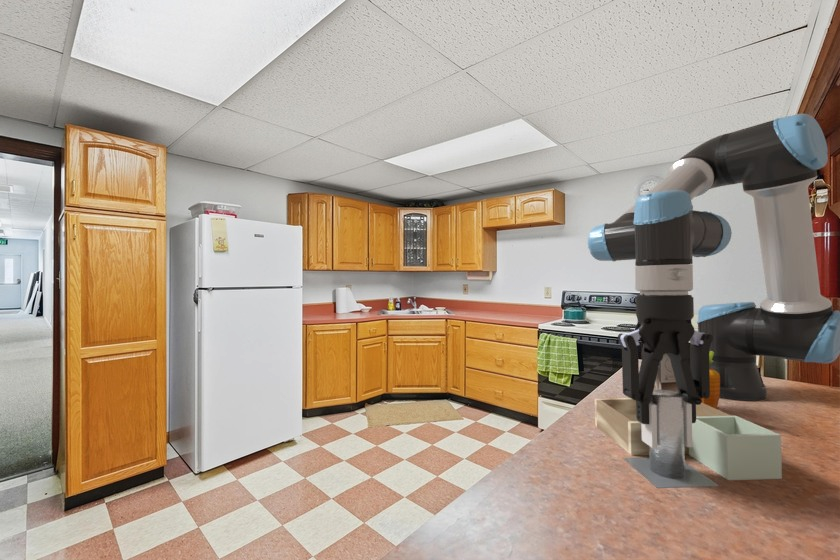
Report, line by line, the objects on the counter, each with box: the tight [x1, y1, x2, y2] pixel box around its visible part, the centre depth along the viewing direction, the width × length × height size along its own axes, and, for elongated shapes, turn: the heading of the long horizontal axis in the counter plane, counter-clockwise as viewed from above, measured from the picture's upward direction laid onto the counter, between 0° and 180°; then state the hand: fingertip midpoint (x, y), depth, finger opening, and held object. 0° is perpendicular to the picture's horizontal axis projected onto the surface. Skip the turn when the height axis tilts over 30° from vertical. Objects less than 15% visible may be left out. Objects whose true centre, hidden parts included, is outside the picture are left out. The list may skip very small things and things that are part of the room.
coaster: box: [622, 457, 720, 489], centre depth 59 cm, size 9×9×1 cm
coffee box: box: [652, 341, 691, 393], centre depth 87 cm, size 9×6×16 cm
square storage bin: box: [688, 415, 783, 481], centre depth 60 cm, size 8×8×7 cm
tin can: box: [648, 389, 686, 479], centre depth 59 cm, size 5×5×12 cm
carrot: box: [701, 351, 720, 410], centre depth 78 cm, size 5×5×15 cm
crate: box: [594, 397, 732, 456], centre depth 71 cm, size 19×13×6 cm
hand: (666, 443), depth 59 cm, fingers open, 5 cm apart
